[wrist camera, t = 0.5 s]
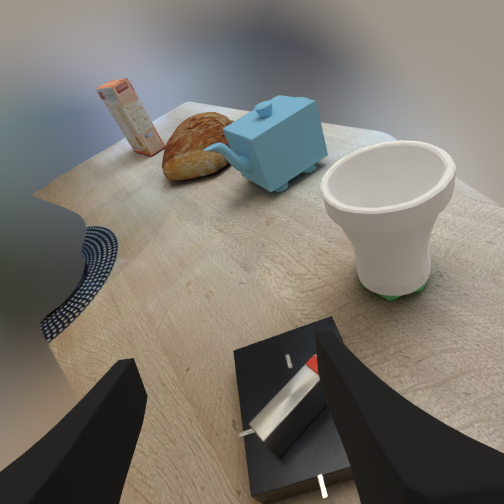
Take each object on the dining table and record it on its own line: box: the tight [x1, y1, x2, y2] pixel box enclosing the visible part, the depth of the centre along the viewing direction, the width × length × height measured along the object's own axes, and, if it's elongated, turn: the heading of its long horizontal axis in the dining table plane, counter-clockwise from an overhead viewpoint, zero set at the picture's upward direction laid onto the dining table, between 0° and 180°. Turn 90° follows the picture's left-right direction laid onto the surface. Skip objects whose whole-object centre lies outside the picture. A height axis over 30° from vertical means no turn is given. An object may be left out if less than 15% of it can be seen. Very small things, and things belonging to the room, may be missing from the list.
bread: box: [162, 112, 234, 181], centre depth 78 cm, size 20×18×10 cm
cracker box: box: [96, 78, 165, 156], centre depth 98 cm, size 14×6×21 cm, turn 42°
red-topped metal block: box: [249, 354, 327, 458], centre depth 26 cm, size 8×2×4 cm, turn 129°
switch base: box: [233, 316, 354, 504], centre depth 29 cm, size 14×12×3 cm
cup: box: [320, 141, 456, 301], centre depth 34 cm, size 11×11×14 cm
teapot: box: [204, 95, 328, 192], centre depth 59 cm, size 22×11×14 cm, turn 121°
